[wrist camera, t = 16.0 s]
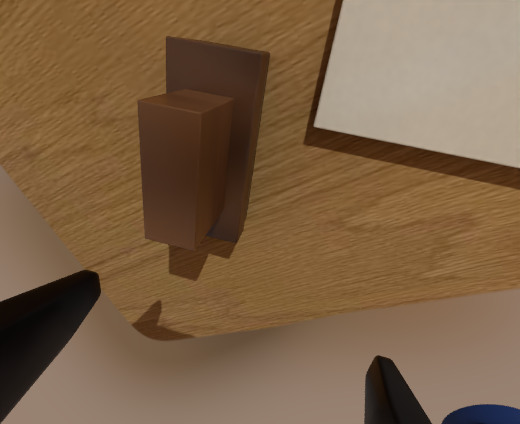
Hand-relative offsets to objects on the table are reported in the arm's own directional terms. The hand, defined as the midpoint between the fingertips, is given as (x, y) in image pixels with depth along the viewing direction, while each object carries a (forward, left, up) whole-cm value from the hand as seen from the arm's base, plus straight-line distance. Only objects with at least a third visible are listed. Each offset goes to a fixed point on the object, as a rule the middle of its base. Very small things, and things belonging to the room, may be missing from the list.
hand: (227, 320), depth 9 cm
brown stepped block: (+2, +4, -11) cm, 12 cm away
